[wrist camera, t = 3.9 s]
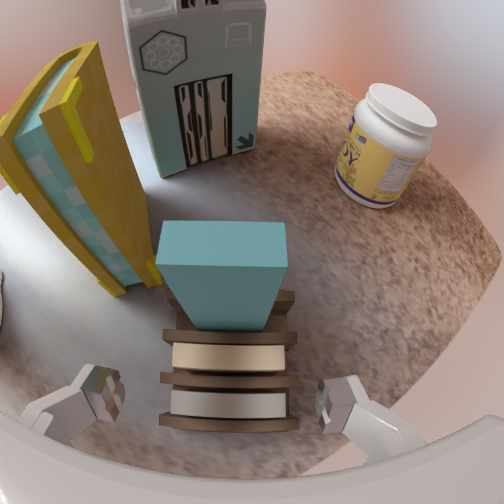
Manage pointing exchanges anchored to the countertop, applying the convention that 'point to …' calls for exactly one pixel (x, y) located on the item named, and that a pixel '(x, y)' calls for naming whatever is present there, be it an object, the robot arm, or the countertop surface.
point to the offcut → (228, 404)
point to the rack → (220, 382)
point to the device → (196, 76)
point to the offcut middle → (228, 358)
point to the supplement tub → (384, 146)
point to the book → (80, 169)
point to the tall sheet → (224, 271)
